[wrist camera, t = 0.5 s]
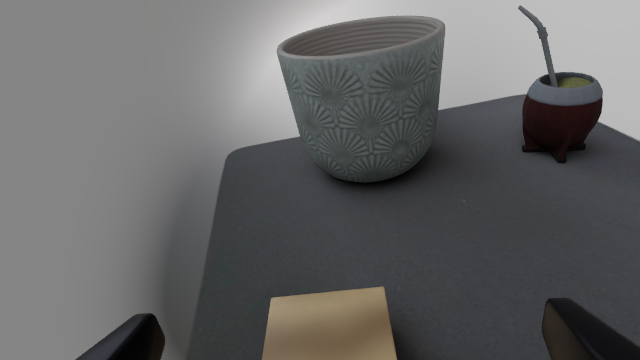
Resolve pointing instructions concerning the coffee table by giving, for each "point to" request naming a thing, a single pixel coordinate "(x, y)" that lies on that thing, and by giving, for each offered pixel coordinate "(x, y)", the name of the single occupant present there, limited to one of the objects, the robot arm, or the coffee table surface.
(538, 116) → the mate gourd
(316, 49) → the planter
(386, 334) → the riser block
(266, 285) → the coffee table surface
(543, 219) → the coffee table surface
